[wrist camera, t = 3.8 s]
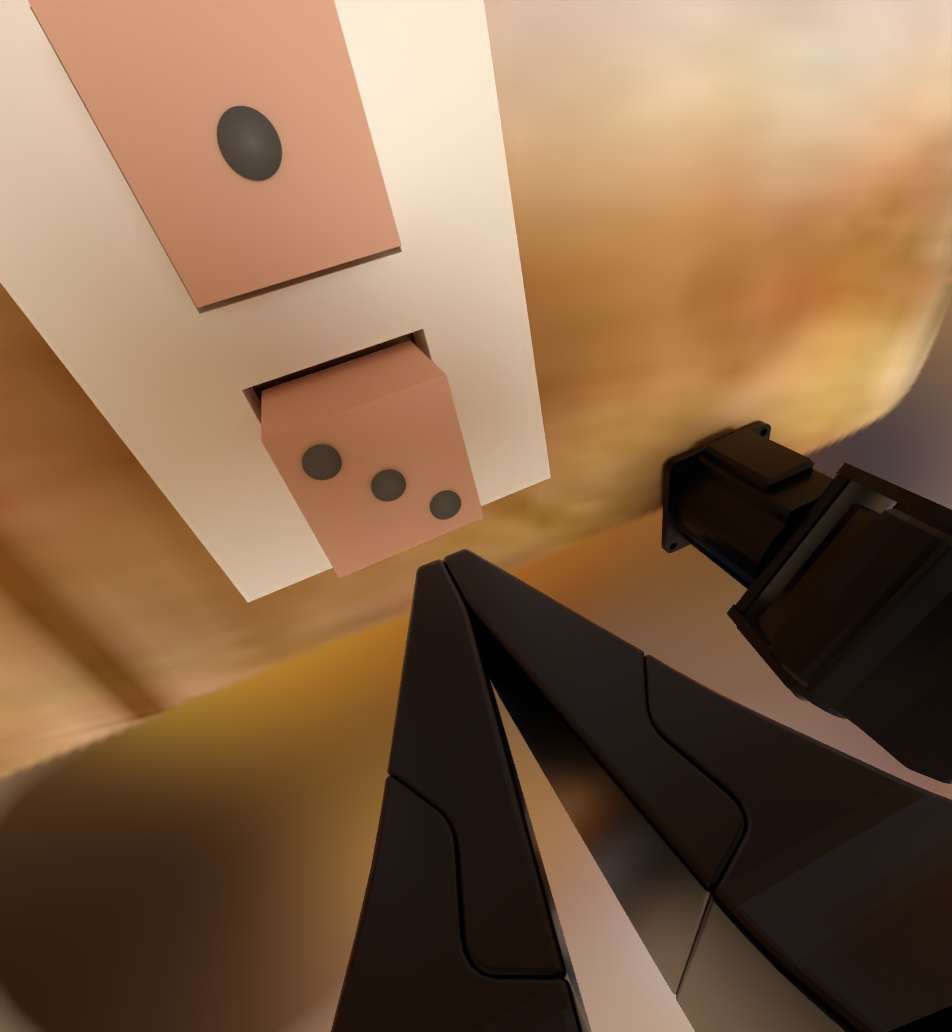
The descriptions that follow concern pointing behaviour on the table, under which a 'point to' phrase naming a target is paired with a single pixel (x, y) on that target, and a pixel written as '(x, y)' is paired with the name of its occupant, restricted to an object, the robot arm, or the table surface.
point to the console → (287, 305)
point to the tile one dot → (231, 132)
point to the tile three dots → (372, 455)
